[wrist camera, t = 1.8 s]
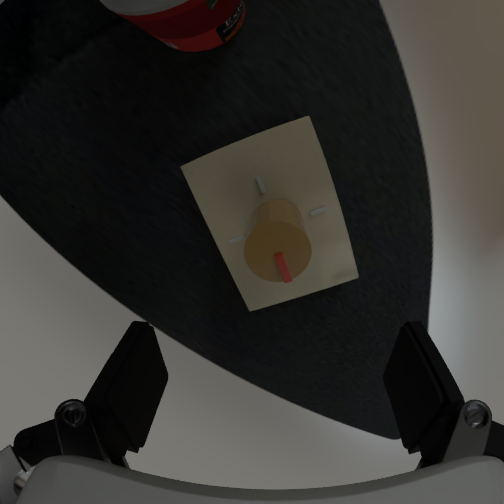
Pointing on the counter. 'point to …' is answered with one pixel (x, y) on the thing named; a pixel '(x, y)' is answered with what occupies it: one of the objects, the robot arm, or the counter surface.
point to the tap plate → (268, 188)
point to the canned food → (184, 20)
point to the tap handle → (277, 242)
